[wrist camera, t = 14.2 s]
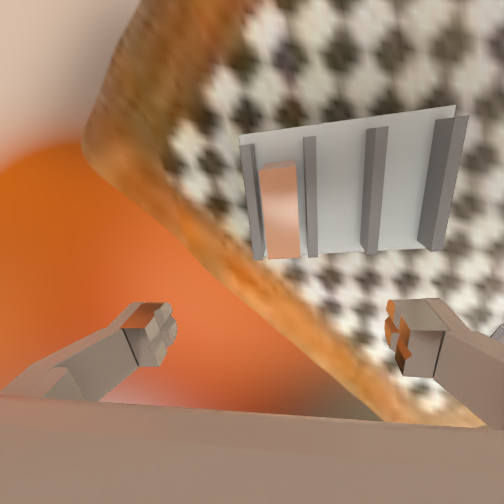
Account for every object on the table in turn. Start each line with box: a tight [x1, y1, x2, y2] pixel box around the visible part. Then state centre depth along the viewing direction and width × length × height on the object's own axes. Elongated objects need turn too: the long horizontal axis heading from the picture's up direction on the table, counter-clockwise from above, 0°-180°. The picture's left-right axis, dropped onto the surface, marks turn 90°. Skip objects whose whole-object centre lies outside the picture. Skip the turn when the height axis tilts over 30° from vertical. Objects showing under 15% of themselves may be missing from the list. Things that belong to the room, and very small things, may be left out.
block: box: [259, 160, 301, 259], centre depth 25 cm, size 3×8×7 cm, turn 7°
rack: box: [239, 105, 469, 260], centre depth 26 cm, size 20×14×4 cm
